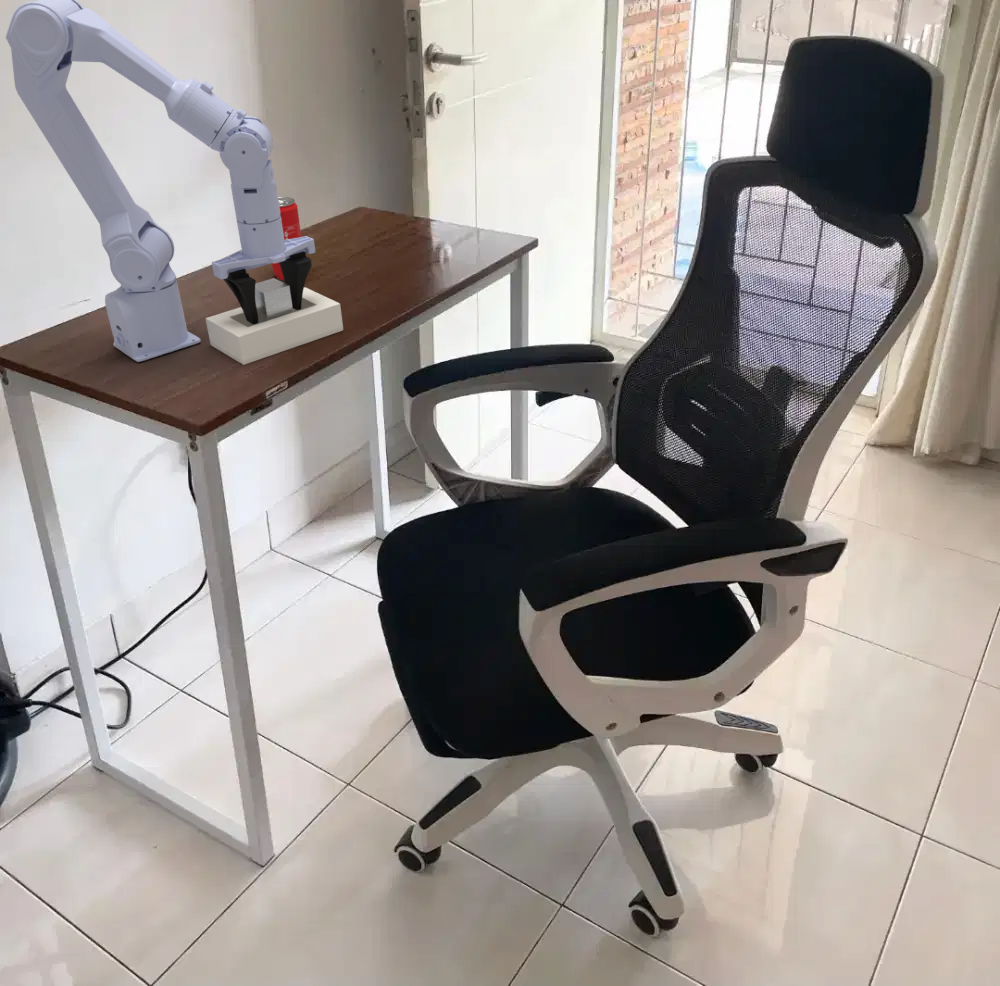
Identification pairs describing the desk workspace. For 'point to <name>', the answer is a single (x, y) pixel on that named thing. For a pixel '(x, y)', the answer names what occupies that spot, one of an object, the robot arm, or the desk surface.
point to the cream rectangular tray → (274, 329)
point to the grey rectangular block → (272, 300)
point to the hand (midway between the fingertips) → (274, 314)
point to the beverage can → (287, 226)
